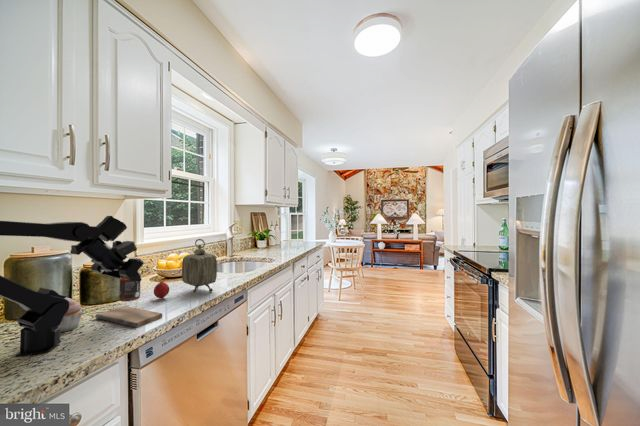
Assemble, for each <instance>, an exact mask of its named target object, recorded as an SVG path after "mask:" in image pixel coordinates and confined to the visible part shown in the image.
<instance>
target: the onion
mask: <svg viewBox="0 0 640 426" xmlns="http://www.w3.org/2000/svg"><path fill="white" fill-rule="evenodd" d="M169 293H170V287H169V285H168V284H167V283H166V282H165V280H162V279H161V280H160V281H159V283H157V284H156V285H155V287H154V289H153V296H155V297H156V298H158V299H160V300H163V299H164V298H165V297H166V296H168V294H169Z"/></svg>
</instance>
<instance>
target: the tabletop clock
mask: <svg viewBox="0 0 640 426" xmlns="http://www.w3.org/2000/svg"><path fill="white" fill-rule="evenodd" d="M199 241H201V242H202V243H203V246H202V245H201V244H197V242H199ZM194 242H195V243H194V244H195V247H197V248H196V249H195V250H194V252H193V253H192V254H187V255H185V256H184V257H183V258H182V262H181V263H182V265H181V279H182V282H183V283H184V284H187V285H189V286H192V287H194V289H193V290H192V292H193V293H194V294H196V293H197V291H198V290H197V289H198V288H200V287H201V286H205V287H207V288H208V291H209V292H210V293H212V292H213V291H214V290H213V288H211V287H210V284H215V283H216V281H217V277H218V276H217V275H218V262H217V257H216V255H215V254H213V253H210V252H206V250H205V249H204V247H205V246H206V242H205V240H204V239H201V238H198V239H196V240H195V241H194Z"/></svg>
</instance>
